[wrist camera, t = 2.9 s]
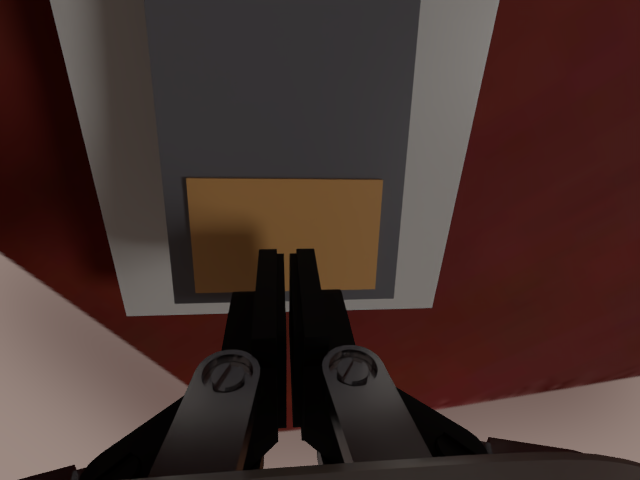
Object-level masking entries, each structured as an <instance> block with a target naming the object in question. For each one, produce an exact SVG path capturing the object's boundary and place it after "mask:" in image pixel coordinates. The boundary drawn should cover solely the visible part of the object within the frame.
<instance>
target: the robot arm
mask: <svg viewBox="0 0 640 480" xmlns="http://www.w3.org/2000/svg"><path fill="white" fill-rule="evenodd" d="M289 337H290V363H291V388H292V413H293V427H301V435H302V440H303V441H306V442H307V443H308V444H309V445H311V446H312V447H313V448H314V449H316V450H317V458H318V465H313V466H300V467H285V468H271V469H263V466H264V455H265V454H266V453H267V452H268V451H269V450H270V449H271V448H272V447H273V446H274V445H275V444H276V443H277V442H278V428H286V308H285V273H284V253H283V254H277V249H259V255H258V266H257V277H256V288H255V291H240V292H232V296H231V301H230V307H229V312H228V318H227V323H226V329H225V335H224V340H223V346H222V351H220V352H216V353H214V354H212V355H210V356H208V357H207V358H206V359H205V360H203V361H202V362H201V363H200V364H199V366H198V367H197V369H196V371H195V373H194V375H193V377H192V379H191V382H190V384H189V386H188V388H187V391H186V393H185V395H184V396H183V397H181V398H180V399H179V400H177V401H176V402H174V403H173V404H172V405H170V406H169V407H167V408H166V409H164V410H163V411H161V412H160V413H158V414H157V415H156V416H154V417H153V418H151V419H150V420H148V421H147V422H146V423H144V424H143V425H141V426H140V427H138V428H137V429H135V430H134V431H133V432H131V433H130V434H129V435H127V436H125V437H124V438H123V439H121V440H120V441H118V442H117V443H115V444H114V445H113V446H111V447H110V448H108V449H107V450H105V451H104V452H103V453H101V454H100V455H99V456H98V457H96V458H95V459H94V460H93V461H92V462H91V463H90V464H89V465H88V466H87V467H86V468H83V469H79V470H76V467H75V465H72V466H68V467H64V468H60V469H57V470H53V471H49V472H46V473H42V474H38V475H34V476H30V477H27V478H23V479H19V480H640V463H637V462H634V461H630V460H626V459H621V458H615V457H609V456H604V455H597V454H586V453H581V452H578V451H574V450H569V449H563V448H556V447H550V446H543V445H537V444H530V443H524V442H517V441H510V440H504V439H497V438H491V437H488V440H487V442H483V441H480V440H479V439H478V438H477V437H476V436H474V435H473V434H472V433H471V432H469V431H468V430H466V429H465V428H463V427H461V426H460V425H458V424H456V423H455V422H453V421H451V420H450V419H448V418H446V417H445V416H443V415H441V414H440V413H438V412H437V411H435V410H433V409H432V408H430V407H428V406H427V405H425V404H423V403H422V402H420V401H418V400H417V399H415V398H413V397H412V396H410V395H408V394H407V393H405V392H403V391H402V390H400V389H398V388H397V387H395V385H394V383H393V381H392V379H391V378H390V376H389V374H388V372H387V370H386V368H385V366H384V364H383V362H382V361H381V360H380V358H379V357H378V356H377V355H376V354H375V353H373V352H372V351H371V350H368V349H366V348H364V347H361V346H356V345H355V342H354V338H353V334H352V330H351V326H350V322H349V319H348V315H347V311H346V307H345V303H344V299H343V295H342V292H341V290H340V289H327V290H321V285H320V279H319V274H318V268H317V262H316V256H315V251H314V249H296V253H290V255H289Z"/></svg>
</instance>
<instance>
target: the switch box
mask: <svg viewBox="0 0 640 480" xmlns="http://www.w3.org/2000/svg"><path fill="white" fill-rule="evenodd" d="M50 3H51V7H52V11H53V15H54V20H55V24H56V28H57V32H58V36H59V40H60V44H61V48H62V52H63V56H64V61H65V65H66V69H67V73H68V77H69V81H70V85H71V89H72V93H73V97H74V102H75V106H76V110H77V114H78V118H79V122H80V126H81V130H82V134H83V139H84V143H85V147H86V151H87V155H88V159H89V163H90V167H91V171H92V175H93V180H94V184H95V188H96V192H97V196H98V200H99V204H100V208H101V212H102V216H103V221H104V225H105V229H106V233H107V237H108V241H109V245H110V249H111V253H112V257H113V262H114V266H115V270H116V274H117V278H118V282H119V286H120V290H121V294H122V299H123V303H124V307H125V311H126V315H127V316H147V315H184V314H221V313H228V312H229V307H230V303H193V304H175V303H174V293H173V283H172V273H171V263H170V254H169V244H168V234H167V224H166V214H165V204H164V195H163V185H162V175H161V165H160V155H159V145H158V136H157V126H156V116H155V106H154V96H153V86H152V77H151V67H150V57H149V47H148V37H147V27H146V17H145V8H144V0H50ZM498 4H499V0H421V3H420V14H419V26H418V37H417V48H416V59H415V70H414V81H413V92H412V103H411V114H410V125H409V136H408V147H407V158H406V169H405V180H404V191H403V202H402V213H401V224H400V235H399V246H398V257H397V268H396V279H395V290H394V299H357V300H344V303H345V307H346V310H368V309H405V308H432V305H433V301H434V296H435V291H436V287H437V282H438V278H439V273H440V269H441V264H442V259H443V255H444V250H445V246H446V241H447V237H448V232H449V228H450V223H451V218H452V214H453V209H454V205H455V200H456V196H457V191H458V187H459V182H460V177H461V173H462V168H463V164H464V159H465V155H466V150H467V146H468V141H469V136H470V132H471V127H472V123H473V118H474V114H475V109H476V104H477V100H478V95H479V91H480V86H481V82H482V77H483V73H484V68H485V63H486V59H487V54H488V50H489V45H490V41H491V36H492V32H493V27H494V22H495V18H496V13H497V9H498ZM285 308H286V312H289V301H285Z"/></svg>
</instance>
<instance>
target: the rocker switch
mask: <svg viewBox="0 0 640 480" xmlns="http://www.w3.org/2000/svg"><path fill="white" fill-rule="evenodd" d="M420 3H421V0H144V8H145V17H146V27H147V37H148V47H149V57H150V67H151V77H152V86H153V96H154V106H155V116H156V126H157V136H158V145H159V155H160V165H161V175H162V185H163V195H164V204H165V214H166V224H167V234H168V244H169V254H170V263H171V273H172V283H173V293H174V303H175V304H193V303H230V301H231V296H232V292H240V291H255V288H256V277H257V266H258V255H259V249H277V254H283V253H284V273H285V301H289V255H290V253H296V249H314V251H315V256H316V262H317V268H318V274H319V279H320V285H321V290H327V289H340V290H341V292H342V295H343V299H344V300H357V299H394V290H395V279H396V268H397V257H398V246H399V235H400V224H401V213H402V202H403V191H404V180H405V169H406V158H407V147H408V136H409V125H410V114H411V103H412V92H413V81H414V70H415V59H416V48H417V37H418V26H419V14H420Z"/></svg>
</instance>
